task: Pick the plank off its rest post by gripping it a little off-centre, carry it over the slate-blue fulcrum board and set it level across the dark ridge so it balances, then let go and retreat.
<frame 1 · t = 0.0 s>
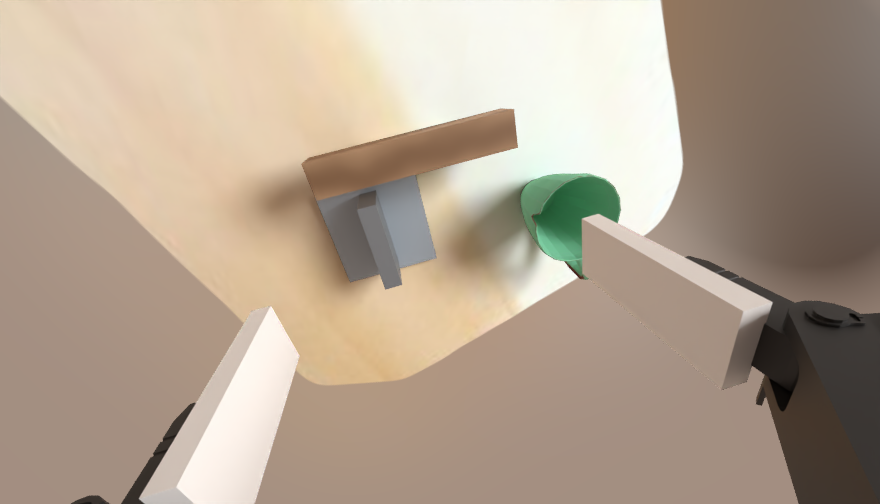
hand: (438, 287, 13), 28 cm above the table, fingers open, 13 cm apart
plank: (411, 150, 33), point 5 cm above the table, touching rest post
fulcrum: (380, 227, 41), on the table
mug: (542, 210, 44), on the table
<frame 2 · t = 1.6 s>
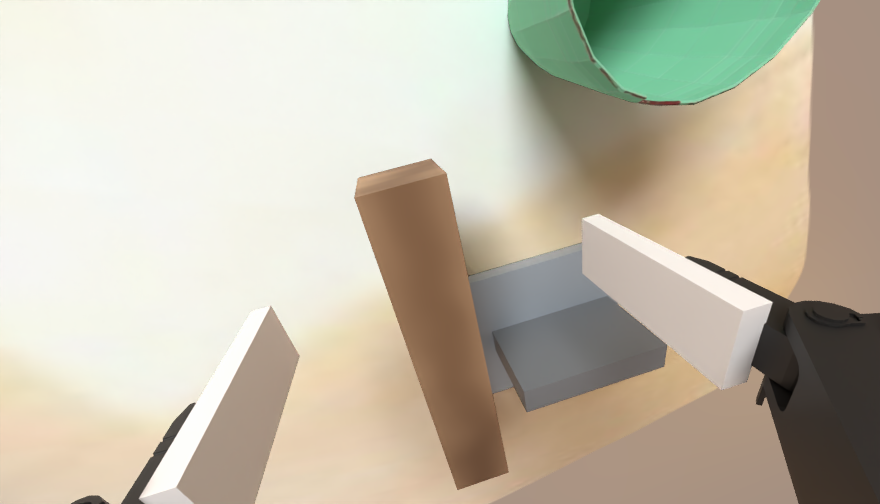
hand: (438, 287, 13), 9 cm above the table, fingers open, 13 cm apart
plank: (440, 330, 19), point 5 cm above the table, touching rest post
fulcrum: (545, 315, 27), on the table
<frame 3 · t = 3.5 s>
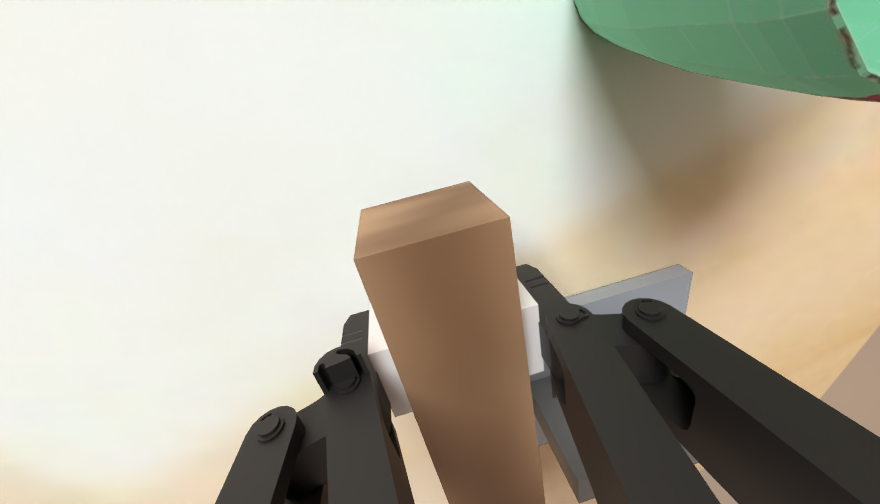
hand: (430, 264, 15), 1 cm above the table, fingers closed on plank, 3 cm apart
plank: (469, 403, 15), point 5 cm above the table, touching gripper, rest post
fulcrum: (589, 360, 22), on the table
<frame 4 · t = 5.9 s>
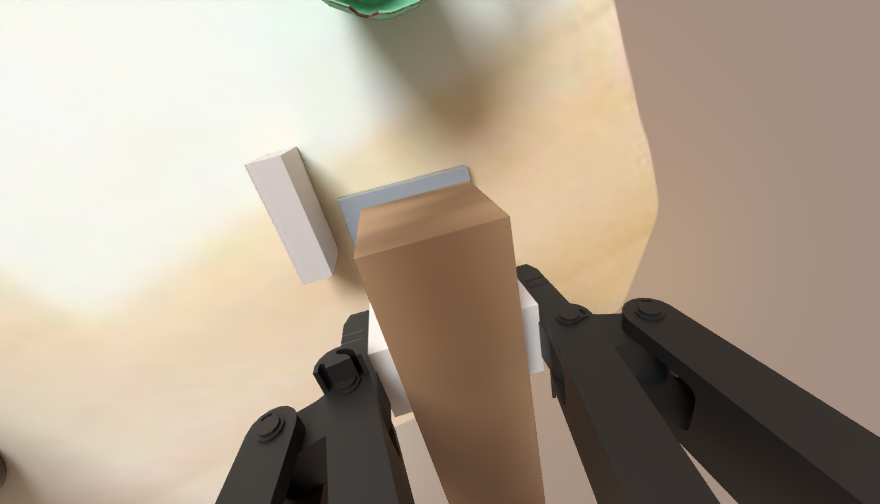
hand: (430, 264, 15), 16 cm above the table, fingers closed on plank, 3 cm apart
plank: (469, 403, 14), point 20 cm above the table, touching gripper
fulcrum: (418, 238, 32), on the table
rest post: (305, 206, 29), on the table
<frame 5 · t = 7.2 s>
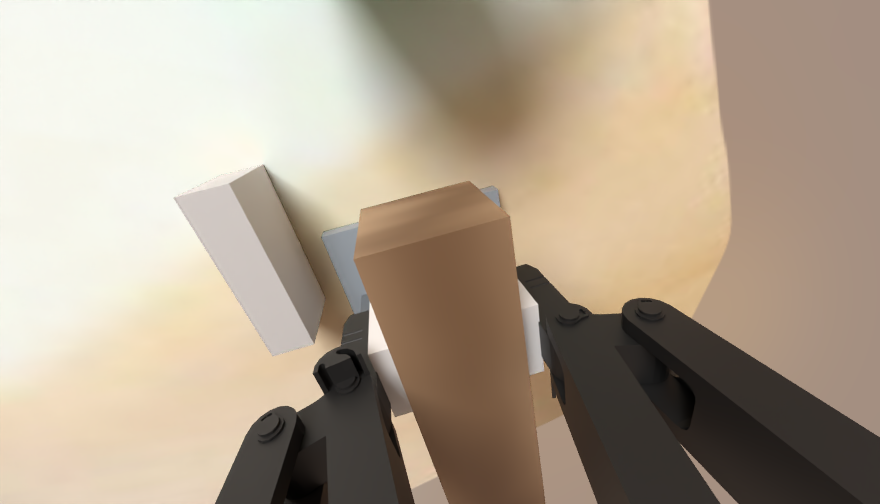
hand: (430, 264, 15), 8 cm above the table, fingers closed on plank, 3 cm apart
plank: (469, 403, 14), point 11 cm above the table, touching gripper
fulcrum: (429, 280, 25), on the table
rest post: (279, 243, 21), on the table
when the fingers open (4 cm above the table, at t = 8.5 s): plank stays where it is, resting on fulcrum.
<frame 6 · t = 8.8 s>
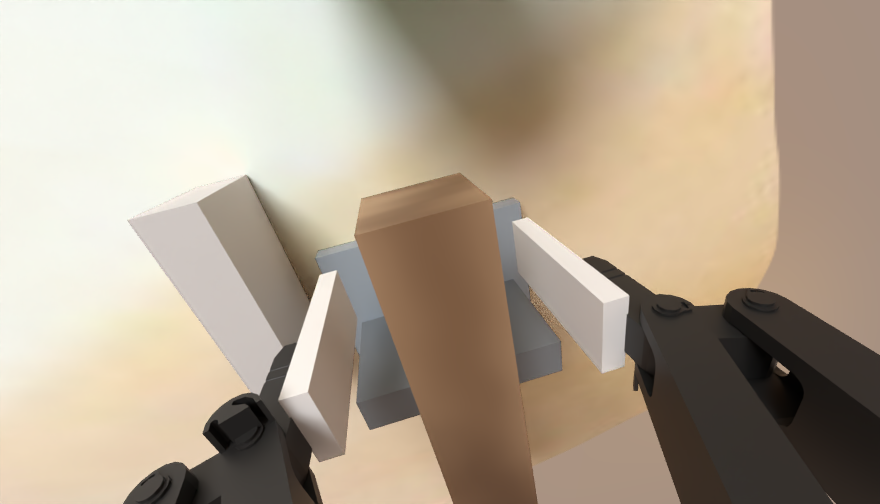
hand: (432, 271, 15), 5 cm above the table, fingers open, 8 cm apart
plank: (463, 385, 15), point 7 cm above the table, touching fulcrum
fulcrum: (439, 303, 22), on the table
rest post: (266, 264, 18), on the table
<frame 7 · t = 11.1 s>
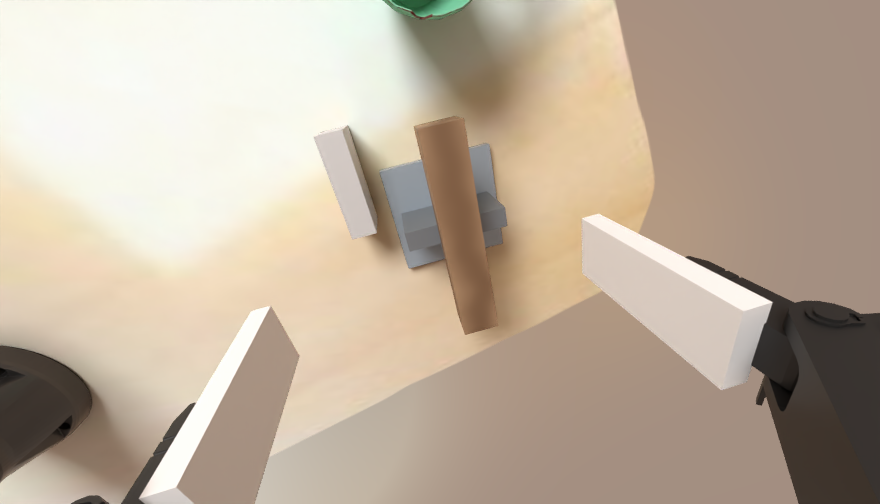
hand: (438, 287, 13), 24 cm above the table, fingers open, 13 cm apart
plank: (456, 229, 31), point 7 cm above the table, touching fulcrum
fulcrum: (444, 207, 37), on the table
rest post: (352, 177, 34), on the table
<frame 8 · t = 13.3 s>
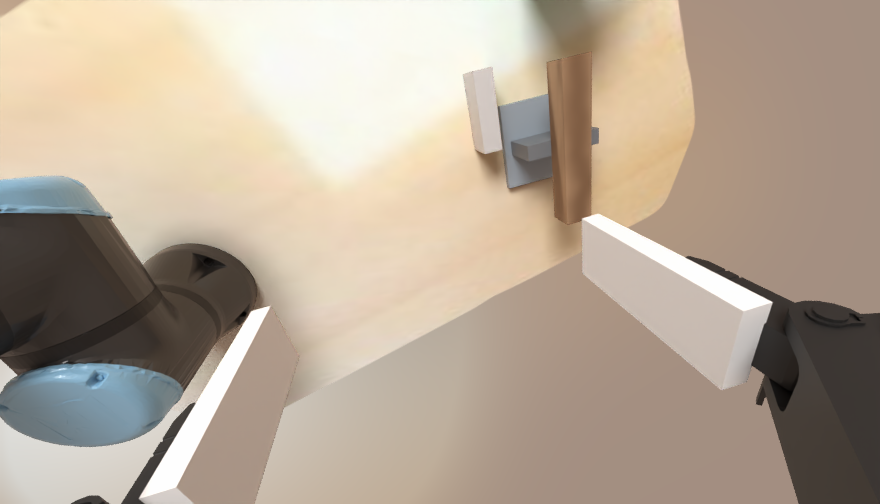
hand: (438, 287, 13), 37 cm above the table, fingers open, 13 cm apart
plank: (563, 144, 42), point 7 cm above the table, touching fulcrum
fulcrum: (539, 139, 49), on the table
rest post: (477, 111, 45), on the table
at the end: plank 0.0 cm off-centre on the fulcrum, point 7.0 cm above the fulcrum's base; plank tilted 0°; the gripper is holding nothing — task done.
